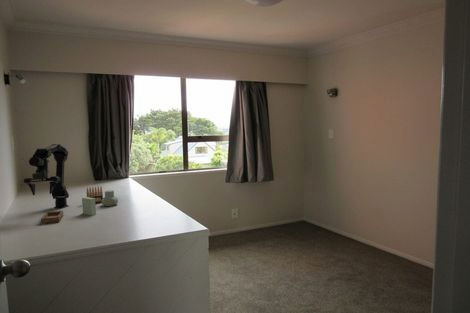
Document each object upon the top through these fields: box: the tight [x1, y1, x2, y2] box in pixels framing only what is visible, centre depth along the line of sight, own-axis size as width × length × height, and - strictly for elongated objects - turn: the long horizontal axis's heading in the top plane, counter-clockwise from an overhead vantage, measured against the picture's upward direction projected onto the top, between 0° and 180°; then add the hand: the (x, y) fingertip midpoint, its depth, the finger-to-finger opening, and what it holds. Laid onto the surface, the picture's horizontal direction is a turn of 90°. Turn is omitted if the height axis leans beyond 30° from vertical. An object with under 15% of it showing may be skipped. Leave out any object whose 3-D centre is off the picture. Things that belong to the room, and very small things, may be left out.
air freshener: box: [100, 189, 119, 207], centre depth 227 cm, size 11×8×10 cm
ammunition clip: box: [86, 186, 104, 204], centre depth 234 cm, size 11×2×12 cm, turn 114°
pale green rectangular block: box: [81, 196, 97, 216], centre depth 204 cm, size 9×3×10 cm, turn 57°
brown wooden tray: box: [40, 210, 64, 225], centre depth 192 cm, size 16×9×3 cm, turn 20°
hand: (42, 194), depth 197 cm, fingers open, 9 cm apart
